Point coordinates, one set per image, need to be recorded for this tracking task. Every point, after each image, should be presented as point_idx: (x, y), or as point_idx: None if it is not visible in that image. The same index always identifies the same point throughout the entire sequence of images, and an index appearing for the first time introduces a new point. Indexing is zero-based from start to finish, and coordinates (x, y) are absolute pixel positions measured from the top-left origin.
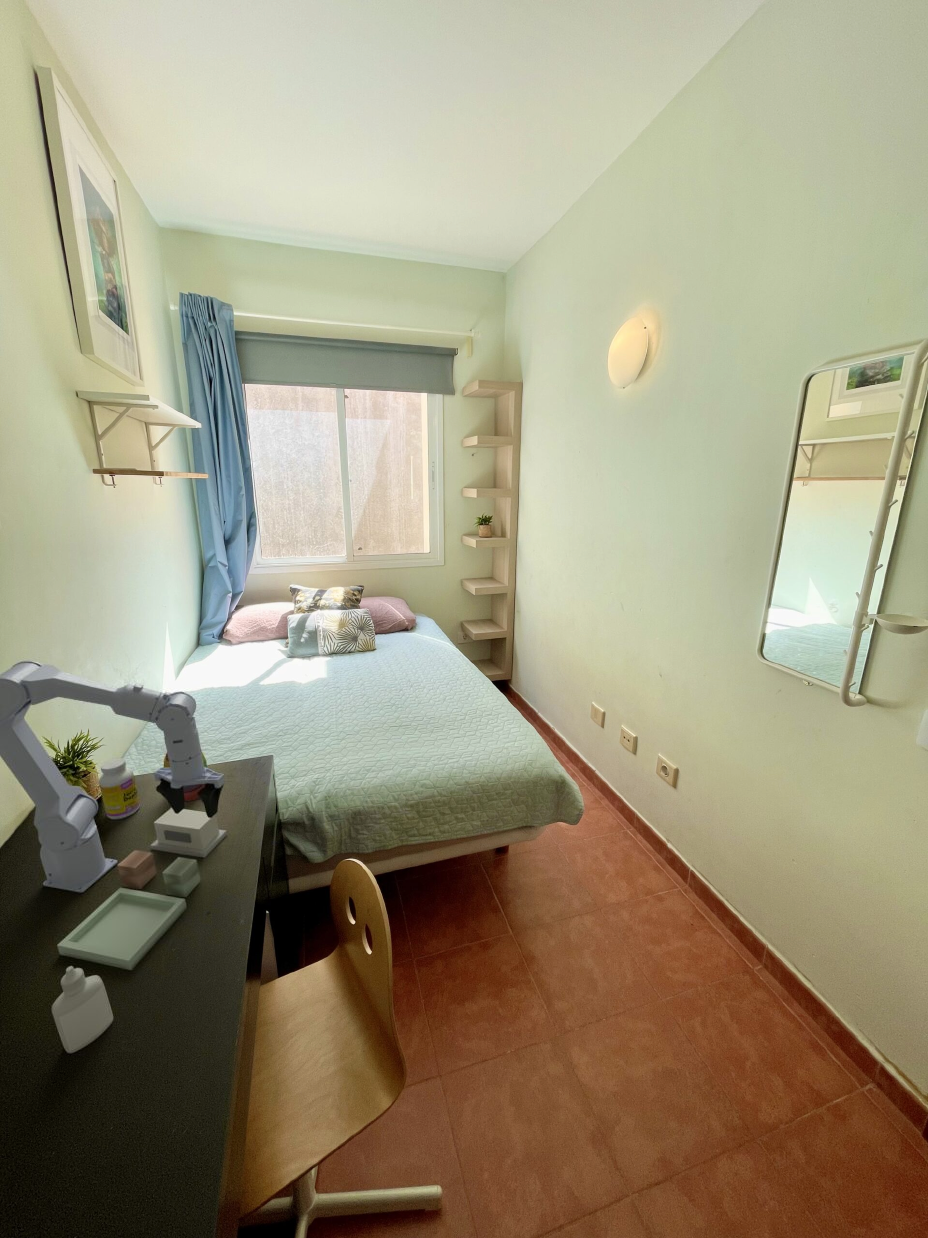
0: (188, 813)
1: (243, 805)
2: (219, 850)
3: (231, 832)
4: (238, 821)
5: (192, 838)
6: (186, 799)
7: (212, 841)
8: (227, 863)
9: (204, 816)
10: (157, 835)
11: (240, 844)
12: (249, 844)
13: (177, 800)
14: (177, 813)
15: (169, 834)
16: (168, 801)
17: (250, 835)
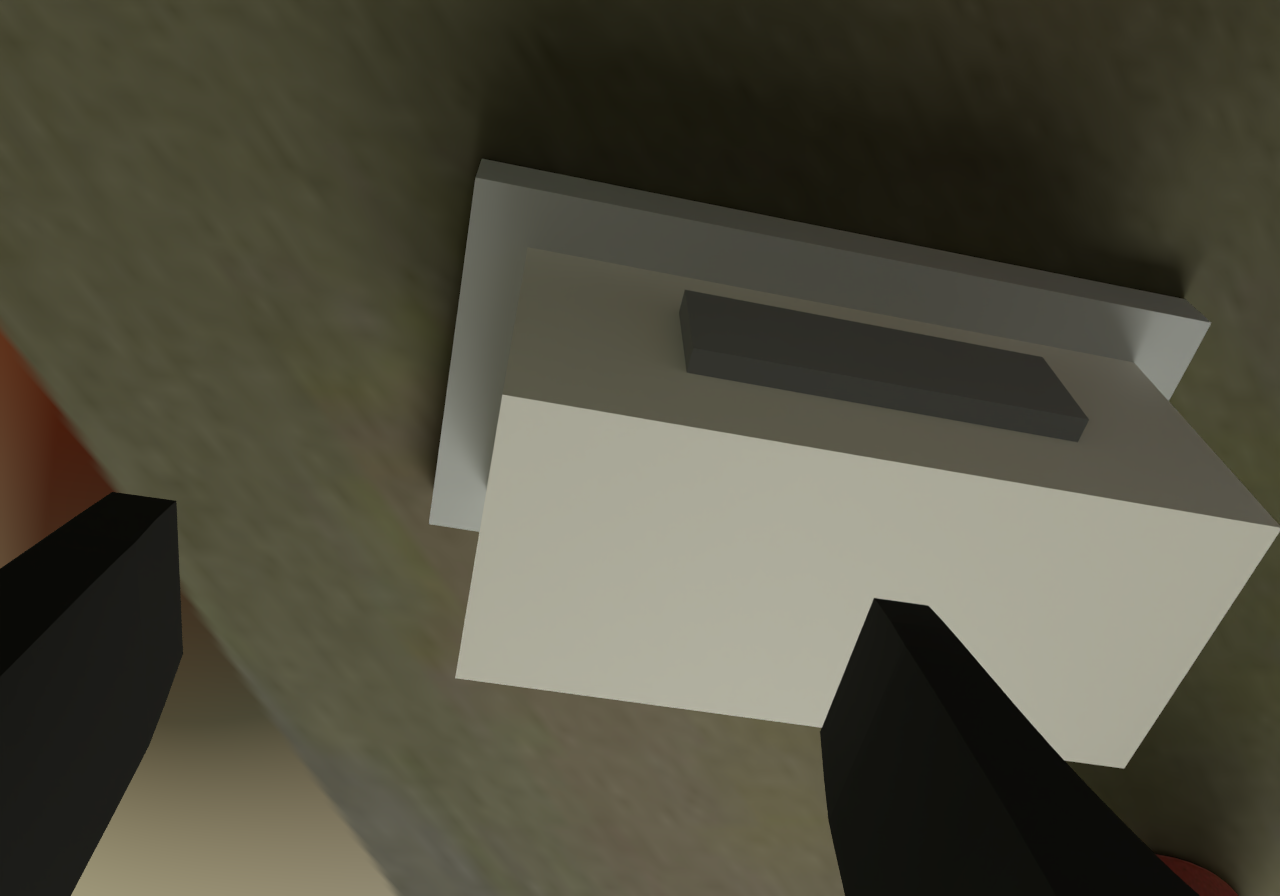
0: None
1: (504, 819)
2: (376, 273)
3: (408, 521)
4: (428, 651)
5: (657, 335)
6: None
7: (487, 371)
8: (132, 58)
9: (585, 632)
10: (1167, 412)
11: (188, 359)
12: (81, 358)
13: (930, 865)
14: (881, 604)
15: (996, 388)
16: (1115, 837)
17: (167, 481)
